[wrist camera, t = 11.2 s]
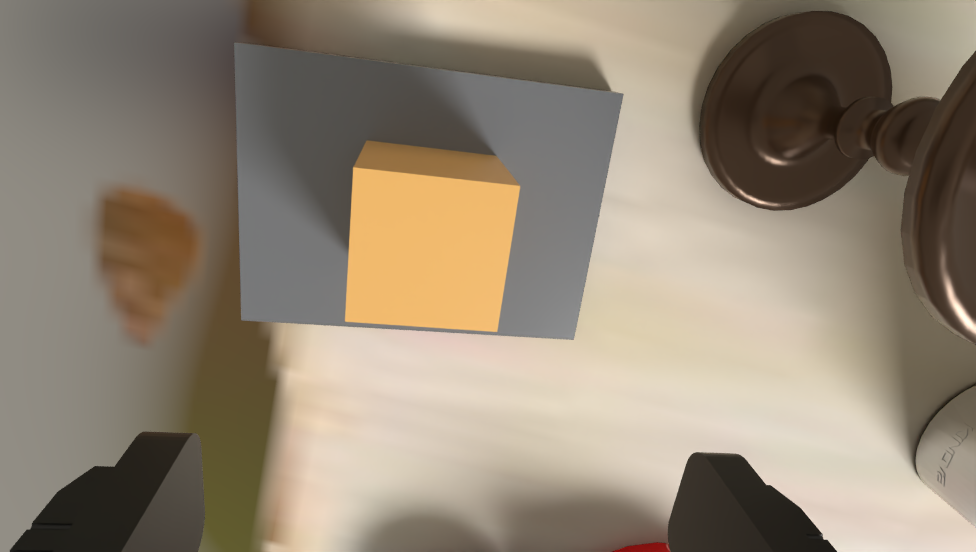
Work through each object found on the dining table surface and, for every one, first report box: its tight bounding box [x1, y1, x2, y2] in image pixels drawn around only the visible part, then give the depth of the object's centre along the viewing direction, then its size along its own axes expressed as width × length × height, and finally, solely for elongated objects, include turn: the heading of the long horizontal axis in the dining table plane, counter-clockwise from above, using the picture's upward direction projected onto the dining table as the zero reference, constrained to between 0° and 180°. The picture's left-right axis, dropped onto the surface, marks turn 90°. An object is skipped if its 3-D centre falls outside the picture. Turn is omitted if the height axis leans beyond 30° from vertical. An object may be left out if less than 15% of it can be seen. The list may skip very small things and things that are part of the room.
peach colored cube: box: [345, 140, 520, 332], centre depth 23 cm, size 6×6×6 cm
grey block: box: [234, 42, 623, 340], centre depth 24 cm, size 16×12×6 cm
